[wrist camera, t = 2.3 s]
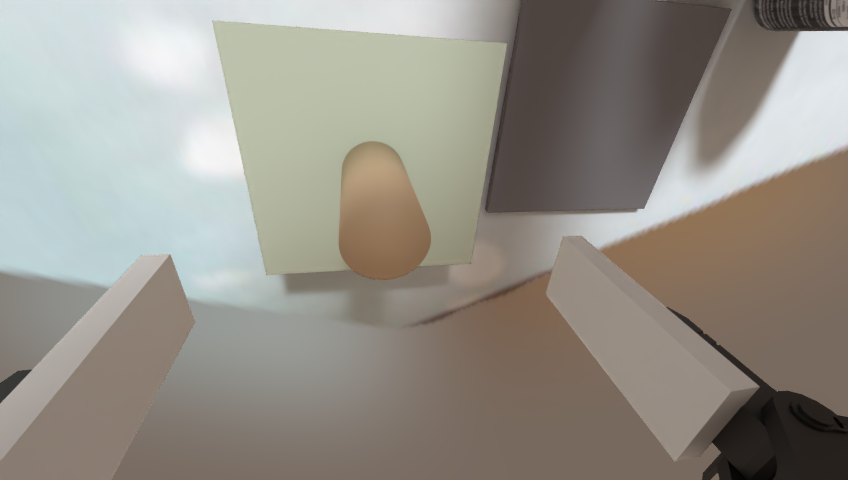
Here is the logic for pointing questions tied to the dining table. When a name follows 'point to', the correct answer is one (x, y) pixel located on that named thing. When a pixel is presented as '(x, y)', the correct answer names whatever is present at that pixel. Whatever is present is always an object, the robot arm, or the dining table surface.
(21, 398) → the robot arm
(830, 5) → the pill bottle
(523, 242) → the dining table surface
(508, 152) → the mat
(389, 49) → the lid
